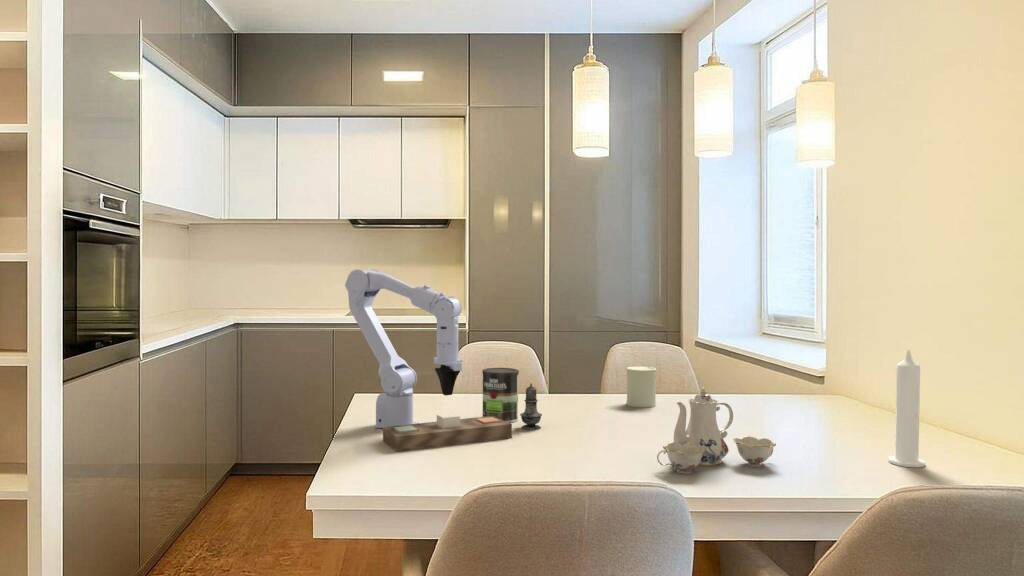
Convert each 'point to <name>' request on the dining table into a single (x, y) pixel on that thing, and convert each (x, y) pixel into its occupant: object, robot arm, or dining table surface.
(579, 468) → the dining table surface
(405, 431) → the sage key
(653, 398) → the can
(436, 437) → the brown long flat block
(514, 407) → the coffee can
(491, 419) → the terracotta key
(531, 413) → the salt shaker
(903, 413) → the candle
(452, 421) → the offwhite key
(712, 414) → the chinaware
